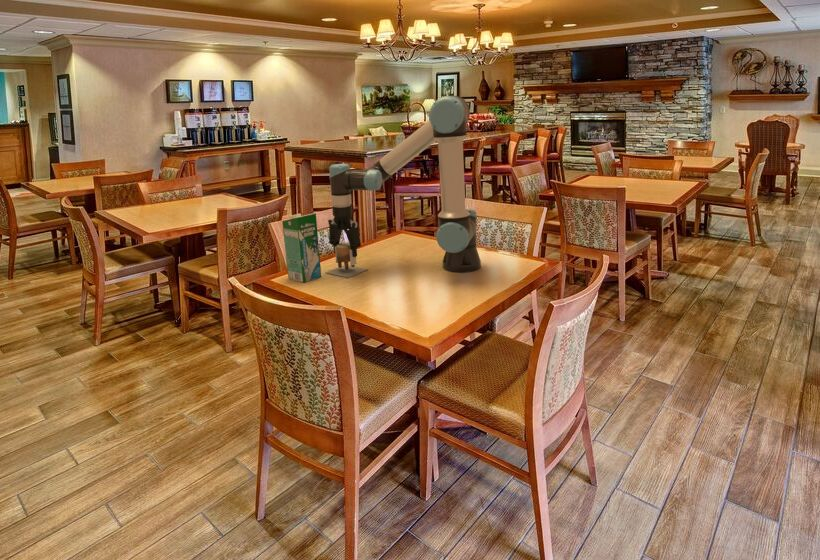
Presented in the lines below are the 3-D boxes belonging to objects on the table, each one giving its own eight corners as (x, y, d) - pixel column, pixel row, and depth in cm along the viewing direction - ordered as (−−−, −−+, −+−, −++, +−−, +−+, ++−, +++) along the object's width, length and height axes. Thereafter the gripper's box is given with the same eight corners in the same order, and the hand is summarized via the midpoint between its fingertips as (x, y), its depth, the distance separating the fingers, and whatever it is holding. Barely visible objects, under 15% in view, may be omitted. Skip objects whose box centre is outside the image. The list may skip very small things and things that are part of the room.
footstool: (347, 270, 217) (345, 248, 214) (333, 267, 221) (332, 246, 218) (359, 265, 223) (357, 244, 220) (345, 263, 226) (344, 242, 224)
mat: (368, 270, 224) (368, 269, 224) (347, 278, 214) (347, 277, 214) (345, 265, 230) (345, 264, 230) (325, 273, 221) (325, 272, 221)
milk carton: (306, 272, 223) (300, 210, 215) (321, 276, 217) (316, 212, 210) (288, 278, 216) (281, 214, 208) (303, 283, 211) (297, 217, 203)
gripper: (368, 205, 211) (371, 264, 219) (329, 201, 223) (334, 257, 230) (355, 209, 206) (359, 269, 213) (316, 205, 217) (321, 262, 224)
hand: (346, 263), depth 221 cm, fingers closed on footstool, 7 cm apart
